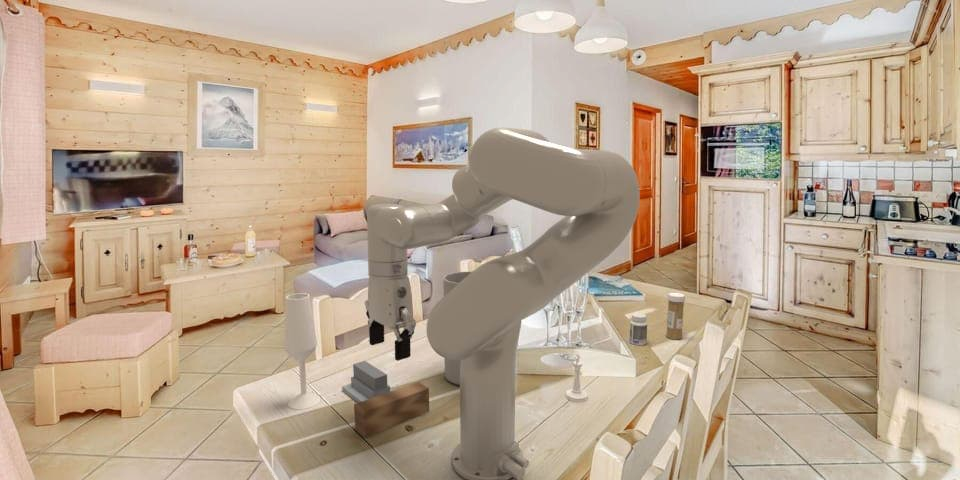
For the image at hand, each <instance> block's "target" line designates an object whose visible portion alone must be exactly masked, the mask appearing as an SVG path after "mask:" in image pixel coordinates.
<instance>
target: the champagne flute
mask: <svg viewBox="0 0 960 480" xmlns="http://www.w3.org/2000/svg"><path fill="white" fill-rule="evenodd" d="M284 310H285V312H284V315H285V316H284V342H283V343H284V345H283V346H284V347H283V348H284V350H285V352H286V354H287V355H289V356H290V357H291V358H293V360H296V361H298V363H299V365H298V367H299V380H300V381H299V383H300V394H298V395H296V396H295V397H294V398H291V399H290V400H289V401H288V407H289V408H291V409H295V410H305V409H308V408H312V407H314V406H316V405H318V404H320V401H321V397H320V396H319V395H316V394H314V393H310V392H308V391H307V377H306V376H307V374H306V372H307V371H306V360H307V359H308V358H309V357H310V356H311V355H313V353H314V352H315V350H316V348H317V346H318V339H317V334H316V328H315V322H314V315H313V309H312V303H311V297H310V294H309V293H305V292H304V293H303V292H302V293H300V292H299V293H292V294H289V295H287V296H285V309H284Z"/></svg>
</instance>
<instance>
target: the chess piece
mask: <svg viewBox="0 0 960 480" xmlns="http://www.w3.org/2000/svg"><path fill="white" fill-rule="evenodd" d="M580 359H581V356H580V354H578V353H577V354H576V356H575V359H574V361H573V362H572V364H573V369H574V370H573V371H572V375H574V380H573V386H572V388H570V389H567V390H566V391H565V398H566V399H567V400H569V401H571V402H576V403H580V402H585V401H587V400H588V397H589V396H588V393H587V391H585V390H584V389H582V388H581V380H580V376H582V375H583V372H582V371H581V368H582V366H583V362H582V361H580Z"/></svg>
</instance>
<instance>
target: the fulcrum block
mask: <svg viewBox="0 0 960 480" xmlns="http://www.w3.org/2000/svg"><path fill="white" fill-rule="evenodd" d="M352 370H353V376H351V377H350V383H348V384H346V385H342V386H341V388H342V389H341V391H342V392H343V393H345V394H346V395H348V397H350V398H352V399H353V400H354V401H355V402H356V403H359V402H362V401H365V400H368V399H370V398H373V397H376V396H379V395H382V394H385V393H387V392H390V391H393V390H394V388H393V387H391V385H389V384H388V374H387V373H385V372H383V371H382V370H381V369H379V368H377V367H376V366H375V365H372V364H371V363H369V362H367V361H366V360H363V361H360V362H356V363H353V364H352Z"/></svg>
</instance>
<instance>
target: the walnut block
mask: <svg viewBox="0 0 960 480" xmlns="http://www.w3.org/2000/svg"><path fill="white" fill-rule="evenodd" d="M353 411H354V429H355V431H357V432H358V434H360V435H361V437H363V438H364V439H365V438H368V437H370V436H373V435H375V434H377V433H380V432H383V431H385V430H387V429H389V428H392V427H395V426H397V425H400V424H402V423H404V422H407V421H410V420H412V419H414V418H417V417H419V416H420V417H421V416H422V415H424V414H427V413H429V412H430V388H429V387H428V386H426V385H424V384H423V383H421V382H420V381H416V382H413V383H410V384H408V385H405V386H402V387H399V388H397V389H393V391H390V392H387V393H385V394H382V395H379V396H376V397H373V398H370V399H368V400H365V401H362V402H359V403H358V402H356V403H354V404H353Z"/></svg>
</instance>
